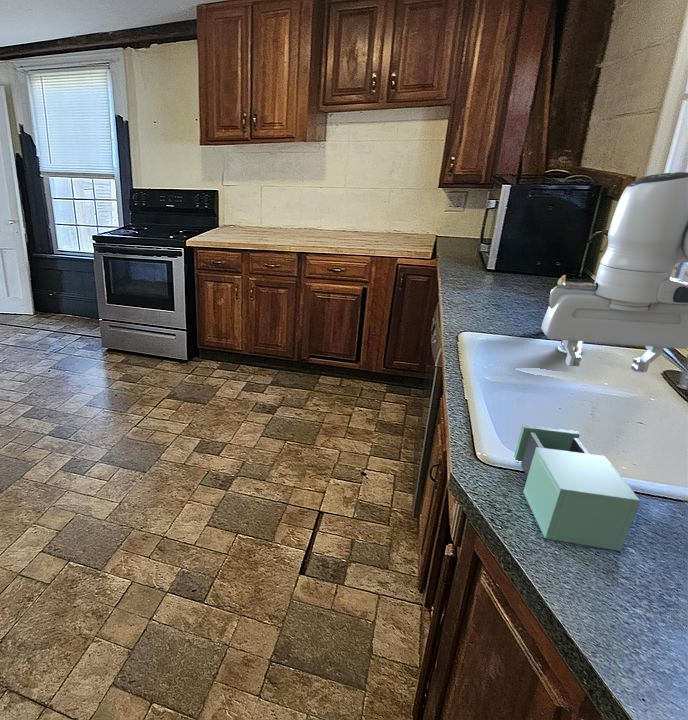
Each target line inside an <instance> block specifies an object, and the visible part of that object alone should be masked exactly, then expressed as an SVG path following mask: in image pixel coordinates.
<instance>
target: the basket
mask: <svg viewBox="0 0 688 720" xmlns="http://www.w3.org/2000/svg"><path fill="white" fill-rule="evenodd" d="M580 436H581V435H580V432H579V431H577V430H568V429H560V428H553V427H546V426H536V425H529V424H522V425H521V429H520V433H519V437H518V440H517V444H516V448H515V451H514V455H513V458H514V457H515V460H518V461H522V463H519V462H516V463H518V464H520V466H521V468H522V470H523V472H524V474H525V477H526V478H527V477H528V474H529V470H530V467H531V463H532V460H533V456H534V453H535V449H536V447H540V448H547V449H555V450H563V451H570V452H578V453H586V454H590V453H589V451H588V450H587V448H586V447H585V446H584V444H583V443H582V441H580V439H579V438H580Z"/></svg>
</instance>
